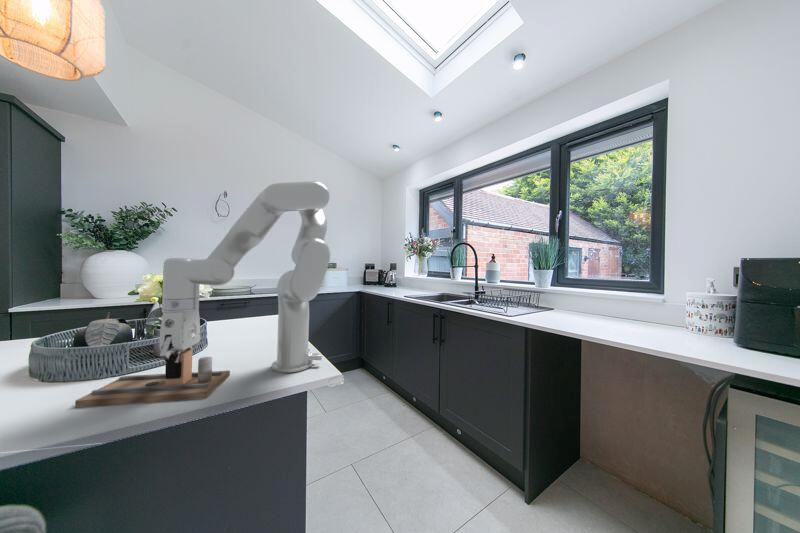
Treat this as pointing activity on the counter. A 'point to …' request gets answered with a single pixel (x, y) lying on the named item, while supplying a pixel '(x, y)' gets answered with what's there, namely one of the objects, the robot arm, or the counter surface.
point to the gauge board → (156, 388)
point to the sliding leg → (182, 369)
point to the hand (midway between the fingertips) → (178, 373)
